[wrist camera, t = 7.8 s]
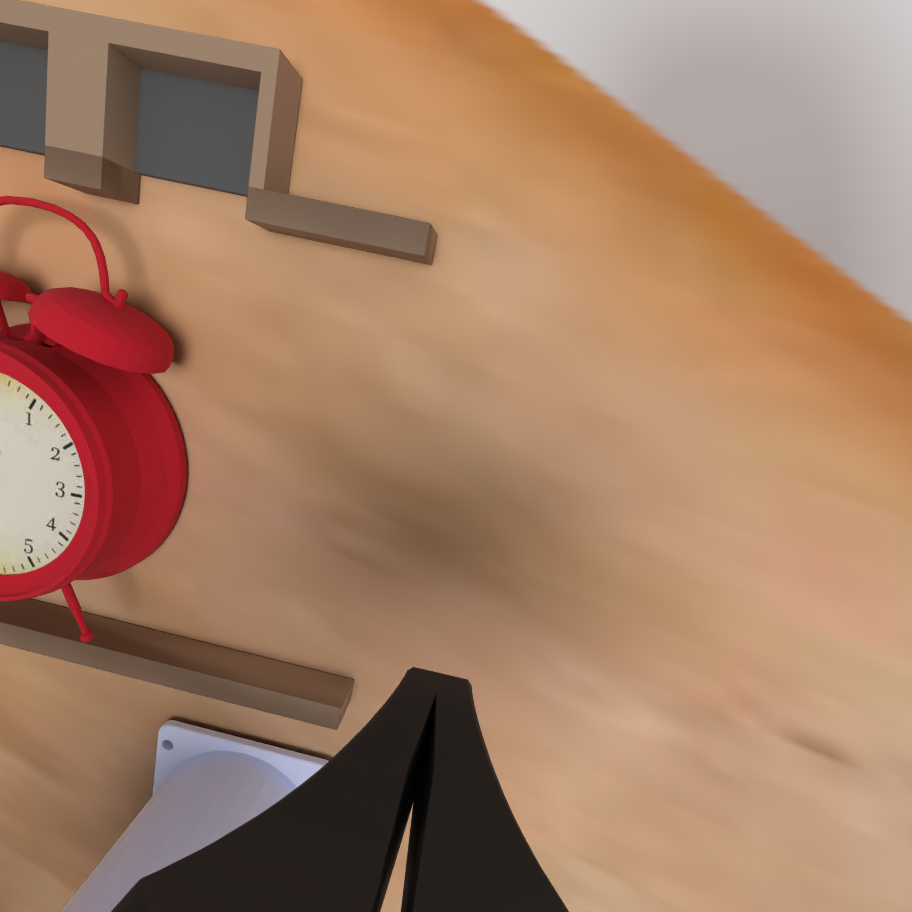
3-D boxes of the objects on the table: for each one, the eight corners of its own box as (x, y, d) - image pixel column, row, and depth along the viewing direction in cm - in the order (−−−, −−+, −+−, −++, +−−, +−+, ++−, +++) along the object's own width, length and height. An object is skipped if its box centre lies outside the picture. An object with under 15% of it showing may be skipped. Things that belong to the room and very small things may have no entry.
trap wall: (350, 700, 22) (331, 743, 20) (-102, 586, 23) (-173, 613, 21) (437, 235, 18) (426, 217, 16) (-116, 122, 19) (-206, 90, 17)
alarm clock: (-145, 604, 20) (-334, 150, 13) (7, 518, 25) (-72, 171, 19) (115, 671, 19) (52, 232, 13) (211, 568, 25) (202, 228, 18)
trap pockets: (286, 204, 18) (263, 189, 17) (-53, 135, 19) (-110, 113, 17) (302, 79, 18) (279, 49, 16) (-54, 11, 18) (-114, -25, 17)
